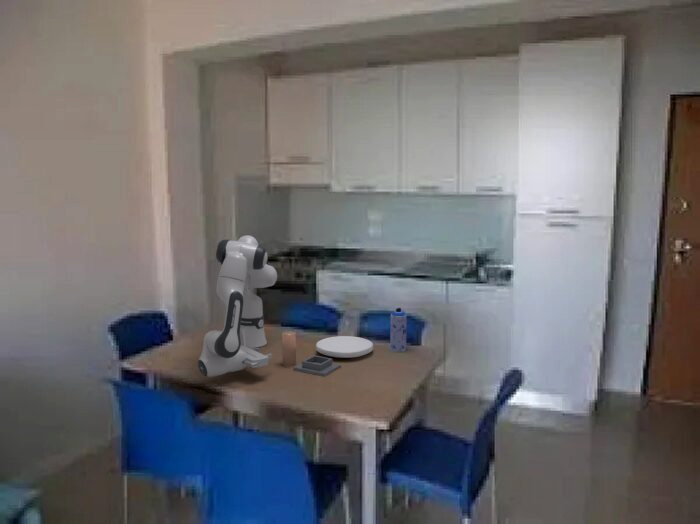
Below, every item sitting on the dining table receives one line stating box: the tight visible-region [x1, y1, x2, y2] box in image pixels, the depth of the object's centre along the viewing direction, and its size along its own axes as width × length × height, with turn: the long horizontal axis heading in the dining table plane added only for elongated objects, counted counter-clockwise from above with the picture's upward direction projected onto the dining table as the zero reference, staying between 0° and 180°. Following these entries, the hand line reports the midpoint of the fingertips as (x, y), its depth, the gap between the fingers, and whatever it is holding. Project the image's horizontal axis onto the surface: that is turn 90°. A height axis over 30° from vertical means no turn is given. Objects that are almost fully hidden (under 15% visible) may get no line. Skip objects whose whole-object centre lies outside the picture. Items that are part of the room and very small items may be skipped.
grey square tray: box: [292, 354, 342, 377], centre depth 255 cm, size 16×13×4 cm
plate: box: [315, 335, 374, 359], centre depth 277 cm, size 28×6×27 cm
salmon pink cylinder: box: [281, 330, 297, 367], centre depth 260 cm, size 6×6×14 cm
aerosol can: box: [389, 307, 407, 353], centre depth 279 cm, size 8×8×20 cm
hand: (265, 352), depth 253 cm, fingers open, 8 cm apart
